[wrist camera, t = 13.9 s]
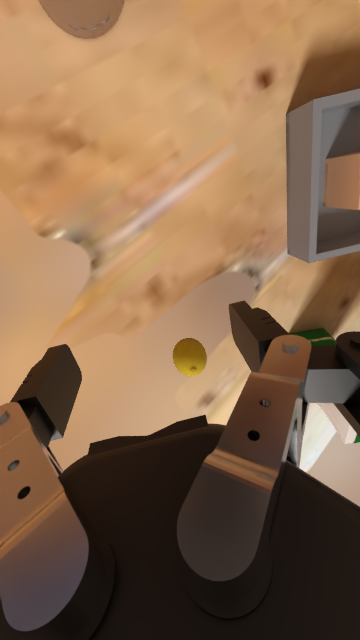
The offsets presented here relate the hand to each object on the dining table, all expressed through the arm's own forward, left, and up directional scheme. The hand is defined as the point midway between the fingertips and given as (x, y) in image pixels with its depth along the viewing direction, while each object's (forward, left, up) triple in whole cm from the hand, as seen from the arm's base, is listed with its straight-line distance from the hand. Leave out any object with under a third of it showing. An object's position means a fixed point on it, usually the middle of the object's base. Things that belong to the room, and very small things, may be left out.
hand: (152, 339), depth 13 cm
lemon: (+19, +2, -28) cm, 34 cm away
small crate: (-2, +29, -27) cm, 40 cm away
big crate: (-2, +29, -28) cm, 40 cm away
